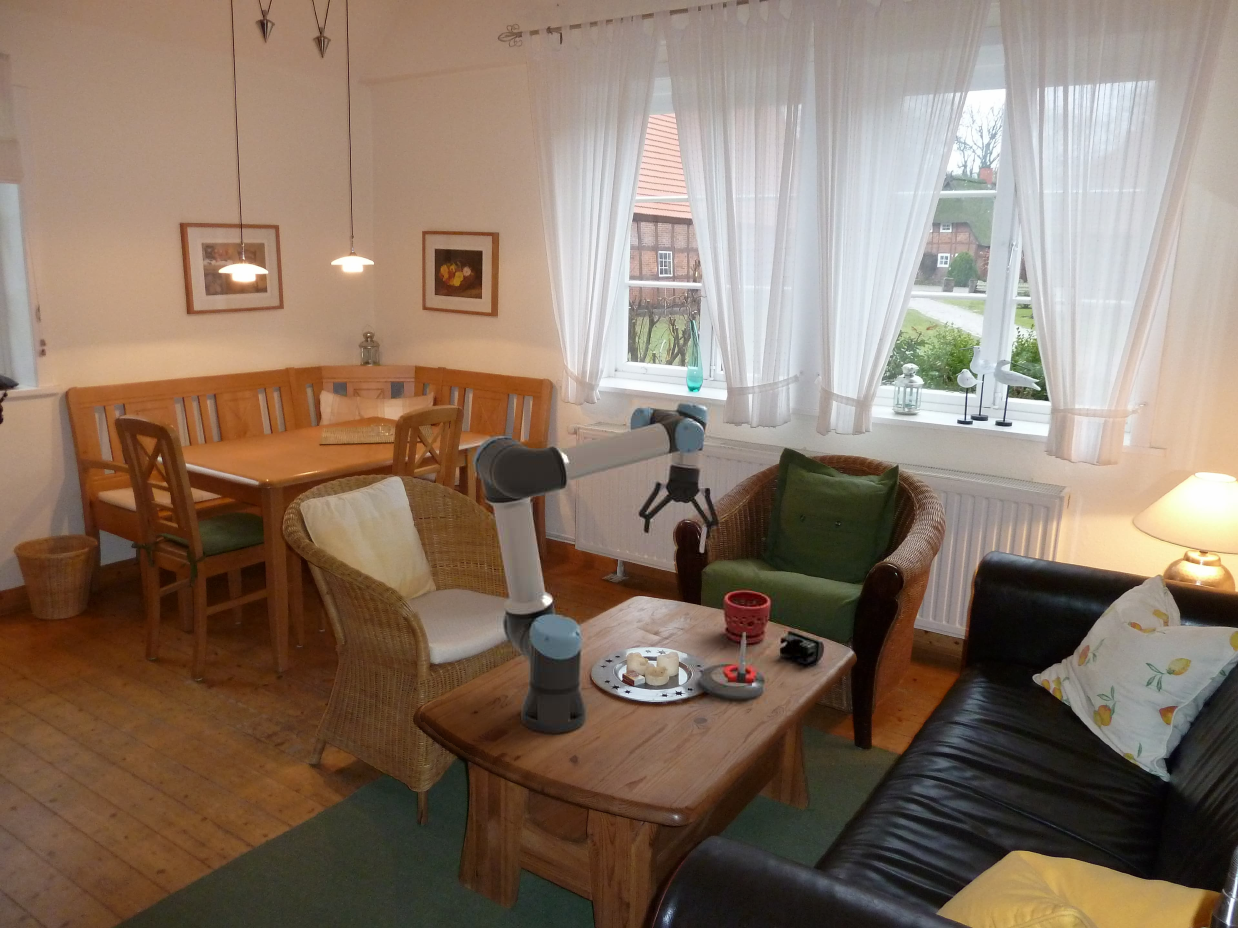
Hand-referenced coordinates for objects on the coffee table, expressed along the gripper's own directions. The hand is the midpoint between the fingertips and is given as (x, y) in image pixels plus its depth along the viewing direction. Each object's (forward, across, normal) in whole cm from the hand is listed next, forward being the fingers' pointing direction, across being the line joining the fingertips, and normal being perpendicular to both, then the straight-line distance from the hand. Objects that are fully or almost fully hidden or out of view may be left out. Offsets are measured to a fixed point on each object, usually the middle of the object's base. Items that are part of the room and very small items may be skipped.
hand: (674, 548), depth 244 cm
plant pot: (+29, -27, -29) cm, 49 cm away
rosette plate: (+33, -19, +3) cm, 38 cm away
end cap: (+30, -40, -15) cm, 52 cm away
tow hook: (+30, -20, +2) cm, 36 cm away
